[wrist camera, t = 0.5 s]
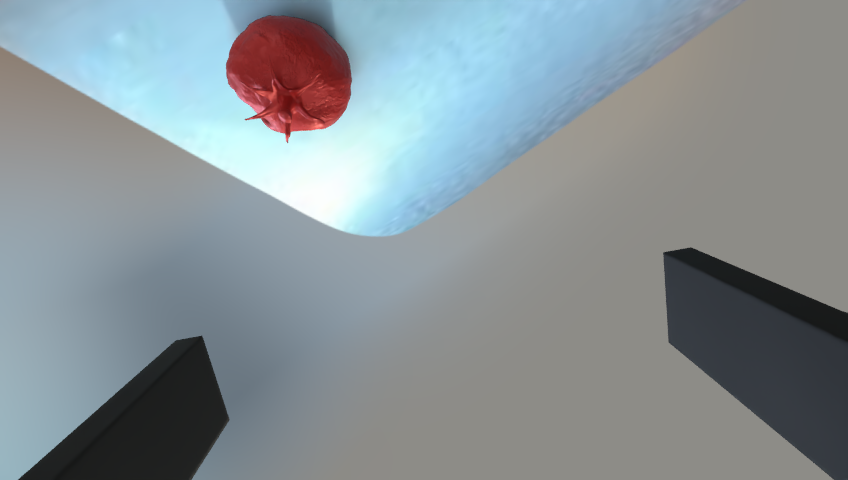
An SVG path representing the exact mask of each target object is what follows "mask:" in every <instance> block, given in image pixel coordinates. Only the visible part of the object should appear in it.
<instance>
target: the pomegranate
mask: <svg viewBox="0 0 848 480" xmlns="http://www.w3.org/2000/svg"><path fill="white" fill-rule="evenodd" d="M226 70H227V71H226V75H227V79H228V84H229V85H230V87H231V88H233V89H234V90H235V92H236V93H237V95H238V97H239V98H240V99H241V100H243V101H244V102H245V103H247V104H248V105H250V106H251V107H252V108H253V109H254V110H255V111H256V113H257V115H255V116H253V117H250V118H248V119H245V120H250V119H257V118H261V119H262V121H263V122H264V124H265V125H266V126H267V127H269V128H270V129H272V130H274V131H276V132H280V133H285V134H286V141H287V143H288V138H289V137H290V132H292V131H306V130H315V129H324V128H326V127H329V126H331V125H332V124H334V123H335V122H336V121H337V120H338V119H339V118H340V116H341V115H342V114H343V113H344V111H345V110H346V108H347V104H348V102H349V99H350V96H351V89H350V86H351V82H352V78H351V70H350V63H349V58H348V56H347V54H346V52H345V51H344V49H343V48H342V47H341V46H340V45H339V44H338V43H337V41H335V40H334V39H333V38H332V37H331V36H330V35H328V34H327V32H326V31H325V30H324V29H323V28H322V27H321V26H319V25H317V24H315V23H312V22H309V21H306V20H304V19H300V18H295V17H288V16H271V15H269V16H266V17H262V18H260V19H257V20H255V21H254V22H252V23H251V24H249V25H248V27H247V28H246V30H245V31H243V32H242V33H241V34H240V35H239V36H238V37H237V38H236V40H235V41H234V43H233V45H232V47H231V49H230V52H229V58H228V60H227V63H226Z"/></svg>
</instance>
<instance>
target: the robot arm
mask: <svg viewBox="0 0 848 480" xmlns="http://www.w3.org/2000/svg"><path fill="white" fill-rule="evenodd" d="M663 255H664V271H665V288H666V305H667V320H668V321H667V322H668V338H669V343H670V344H671V345H673V346H674V347H675V348H676V349H678V350H679V351H680V352H681V353H682V354H683V355H685V356H686V357H687V358H688V359H689V360H691V361H692V362H693V363H694V364H695V365H697V366H698V367H699V368H701V369H702V370H703V371H704V372H705V373H706V374H707V375H709V376H710V377H711V378H713V379H714V380H715V381H716V382H717V383H718V384H720V385H721V386H722V387H723V388H724V389H726V390H727V391H728V392H729V393H730V394H732V395H733V396H734V397H735V398H736V399H738V400H739V401H740V402H741V403H742V404H744V405H745V406H746V407H747V408H748V409H750V410H751V411H752V412H753V413H754V414H756V415H757V416H758V417H759V418H760V419H762V420H763V421H764V422H765V423H767V424H768V425H769V426H770V427H771V428H773V429H774V430H775V431H776V432H777V433H779V434H780V435H781V436H782V437H783V438H785V439H786V440H787V441H788V442H789V443H791V444H792V445H793V446H794V447H795V448H797V449H798V450H799V451H800V452H801V453H803V454H804V455H805V456H806V457H807V458H809V459H810V460H811V461H813V463H815V464H816V465H817V466H818V467H820V468H821V469H822V470H823V471H824V472H826V473H827V474H828V475H829V476H830V477H832V478H833V479H834V480H848V313H846V312H842V311H840V310H838V309H835V308H833V307H831V306H828V305H826V304H823V303H821V302H819V301H817V300H814V299H812V298H809V297H807V296H805V295H802V294H800V293H798V292H795V291H793V290H790V289H788V288H786V287H783V286H781V285H779V284H776V283H773V282H771V281H769V280H767V279H764V278H762V277H759V276H757V275H755V274H752V273H750V272H748V271H745V270H743V269H741V268H738V267H736V266H733V265H731V264H729V263H726V262H724V261H721V260H719V259H717V258H715V257H712V256H710V255H707V254H705V253H703V252H700V251H698V250H696V249H693V248H686V249H680V250H675V251H669V252H664V253H663ZM228 421H229V417H228V414H227V411H226V408H225V405H224V402H223V399H222V395H221V392H220V389H219V386H218V383H217V380H216V377H215V374H214V371H213V368H212V365H211V362H210V359H209V355H208V352H207V349H206V346H205V343H204V340H203V337H202V336H198V337H193V338H188V339H182V340H176V341H175V342H174V343H173V344H171V345H170V346H169V347H168V348H167V349H166V350H165V351H163V352H162V353H161V354H160V355H159V356H158V357H157V358H156V359H155V360H153V361H152V362H151V363H150V364H149V365H148V366H146V367H145V368H144V369H143V370H142V371H141V372H140V373H139V374H137V375H136V376H135V377H134V378H133V379H132V380H131V381H129V382H128V383H127V384H126V385H125V386H124V387H123V388H122V389H120V390H119V391H118V392H117V393H116V394H115V395H114V396H113V397H112V398H110V399H109V400H108V401H107V402H106V403H105V404H103V405H102V406H101V407H100V408H99V409H98V410H97V411H96V412H94V413H93V414H92V415H91V416H90V417H89V418H88V419H87V420H85V421H84V422H83V423H82V424H81V425H80V426H79V427H77V428H76V429H75V430H74V431H73V432H72V433H71V434H69V435H68V436H67V437H66V438H65V439H64V440H63V441H62V442H60V443H59V444H58V445H57V446H56V447H55V448H54V449H53V450H51V451H50V452H49V453H48V454H47V455H46V456H45V457H44V458H42V459H41V460H40V461H39V462H38V463H37V464H36V465H34V466H33V467H32V468H31V469H30V470H29V471H28V472H26V473H25V474H24V475H23V476H22V477H21V478H20V479H19V480H191V479H192V478H193V476H194V475H195V473H196V471H197V470H198V468H199V467H200V465H201V464H202V462H203V460H204V459H205V457H206V456H207V454H208V453H209V451H210V450H211V448H212V446H213V445H214V443H215V442H216V440H217V439H218V437H219V435H220V434H221V432H222V431H223V429H224V428H225V426H226V424H227V423H228Z"/></svg>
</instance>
